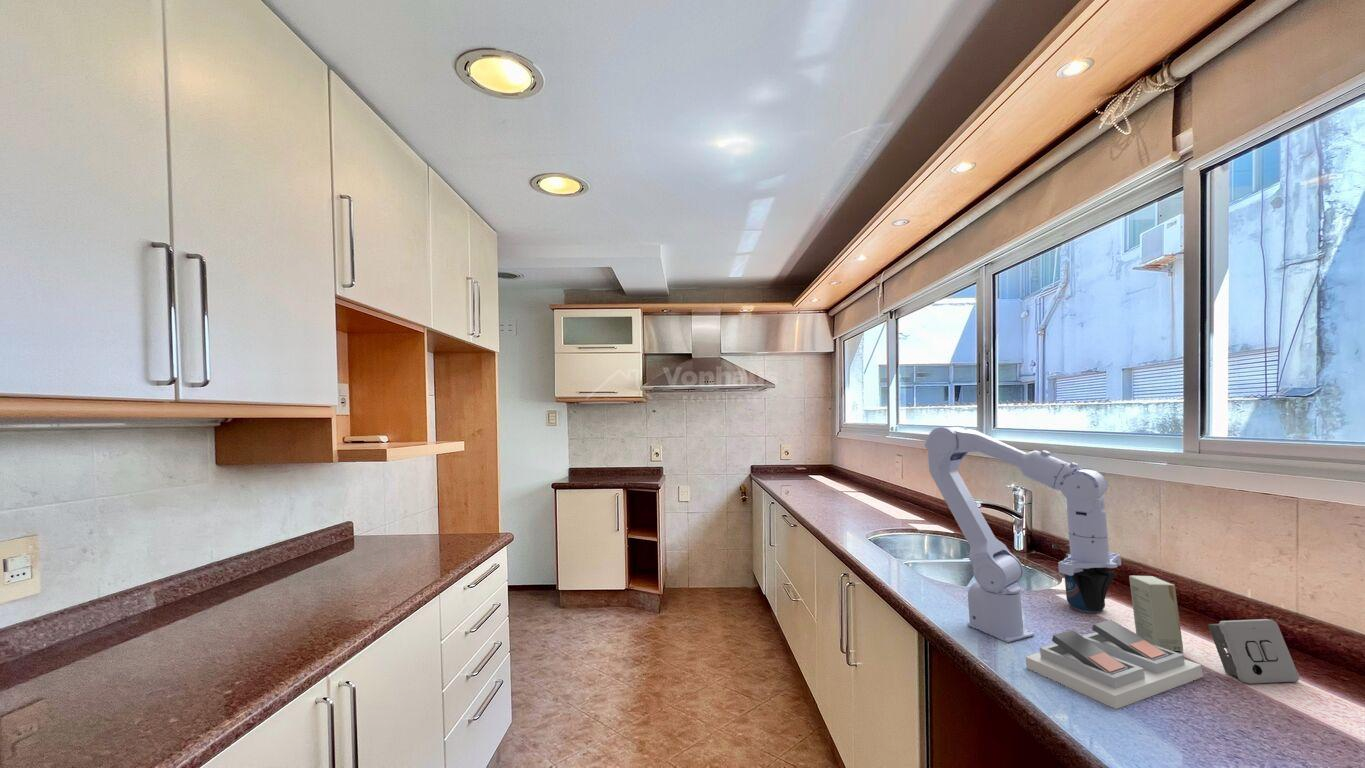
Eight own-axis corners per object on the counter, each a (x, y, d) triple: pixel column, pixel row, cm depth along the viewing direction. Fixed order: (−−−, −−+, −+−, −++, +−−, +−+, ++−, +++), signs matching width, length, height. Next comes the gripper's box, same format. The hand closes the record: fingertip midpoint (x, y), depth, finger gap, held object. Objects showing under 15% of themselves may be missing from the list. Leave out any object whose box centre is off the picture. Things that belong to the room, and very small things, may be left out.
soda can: (1060, 602, 119) (1055, 551, 120) (1092, 602, 118) (1087, 551, 119) (1079, 614, 112) (1074, 559, 113) (1113, 614, 111) (1107, 559, 112)
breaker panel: (1026, 668, 90) (1024, 647, 90) (1108, 643, 98) (1106, 624, 98) (1116, 709, 77) (1113, 684, 77) (1202, 677, 85) (1200, 655, 85)
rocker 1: (1051, 640, 89) (1053, 634, 89) (1070, 635, 91) (1072, 629, 90) (1107, 680, 81) (1109, 673, 80) (1127, 674, 82) (1129, 667, 82)
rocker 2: (1092, 629, 93) (1094, 623, 92) (1109, 624, 94) (1111, 618, 94) (1149, 666, 85) (1151, 659, 84) (1167, 660, 86) (1169, 654, 86)
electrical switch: (1245, 685, 82) (1233, 625, 83) (1212, 672, 87) (1201, 616, 88) (1302, 683, 82) (1288, 623, 83) (1265, 670, 87) (1253, 614, 88)
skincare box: (1184, 652, 93) (1177, 585, 94) (1157, 651, 94) (1150, 584, 95) (1159, 637, 99) (1153, 574, 100) (1134, 636, 100) (1128, 574, 101)
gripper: (1085, 544, 87) (1092, 623, 86) (1137, 534, 92) (1144, 610, 91) (1044, 535, 94) (1050, 609, 93) (1094, 527, 99) (1100, 597, 98)
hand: (1093, 608), depth 92 cm, fingers closed
